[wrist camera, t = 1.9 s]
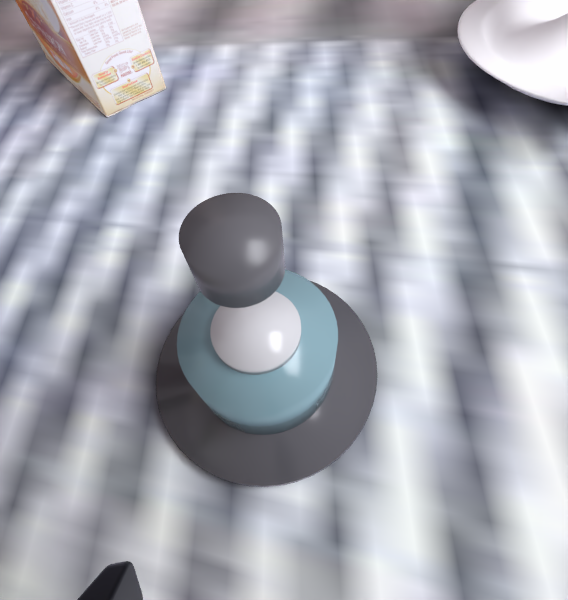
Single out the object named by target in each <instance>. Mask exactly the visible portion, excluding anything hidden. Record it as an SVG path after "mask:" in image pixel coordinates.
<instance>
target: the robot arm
mask: <svg viewBox="0 0 568 600" xmlns="http://www.w3.org/2000/svg"><path fill="white" fill-rule="evenodd" d="M77 600H143V597H142V592H141V588H140V585H139V582H138V579H137V575H136V572H135V569H134V566H133V564H132V563H131V562H128V561H126V562H120V563H115V564H111V565H108V566H107V567H106V568H105V569H104V570H103V571H102V572H101V573H100V574H99V576H98V577H97V578H96V579H95V580H94V581H93V582H92V583H91V585H90V586H89V587H88V588H87V589H86V590H85V591H84V593H83V594H82V595H81V596H80V597H79V598H78V599H77Z"/></svg>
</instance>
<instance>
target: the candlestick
mask: <svg viewBox="0 0 568 600" xmlns="http://www.w3.org/2000/svg"><path fill="white" fill-rule="evenodd" d="M457 32H458V39H459V42H460V44H461V46H462V48H463V50H464V51H465V53H466V54H467V55H468V57H469V58H470V59H471V60H472V61H473V62H474V63H475V64H476V65H477V66H479V67H480V68H481V69H482V70H484V71H485V72H486V73H488V74H489V75H491V76H493V77H494V78H496V79H498V80H499V81H501V82H503V83H505V84H506V85H507V86H509V87H511V88H512V89H514V90H517V91H519V92H521V93H523V94H526V95H528V96H530V97H533V98H536V99H540V100H543V101H547V102H550V103H554V104H560V105H566V106H568V0H476V1H475V2H473V3H472V4H471V5H470V6H468V7H467V8H466V10H465V11H464V12H463V14H462V15H461V17H460V19H459V23H458V29H457Z"/></svg>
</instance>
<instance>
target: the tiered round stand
mask: <svg viewBox="0 0 568 600" xmlns="http://www.w3.org/2000/svg"><path fill="white" fill-rule="evenodd" d="M376 385H377V365H376V358H375V353H374V348H373V345H372V343H371V340H370V337H369V335H368V333H367V331H366V329H365V327H364V325H363V323H362V322H361V320H360V319H359V317H358V316H357V315H356V313H355V312H354V311H353V310H352V309H351V308H350V307H349V305H348V304H347V303H345V302H344V301H343V300H342V299H341V298H340V297H338V296H337V295H336V294H334V293H333V292H331V291H330V290H328V289H327V288H325V287H323V286H321V285H319V284H317V283H314V282H312V281H309V280H307V279H306V278H304V277H302V276H300V275H298V274H296V273H294V272H291V271H288V270H285V274H284V278H283V280H282V282H281V284H280V286H279V287H278V289H277V290H276V291H275V292H274V293H273V294H272V295H271V296H270V297H268V298H267V299H266V300H264V301H262V302H260V303H258V304H256V305H253V306H249V307H244V308H229V307H224V306H220V305H217V304H215V303H213V302H212V301H210V300H209V299H207V298H206V297H205V296H204V295H203V294H202V292H201V291H200V292H199V293H198V294H197V296H196V297H195V298H194V299H193V300H192V302H191V303H190V305H189V306H188V307H187V309H186V311H185V313H184V314H183V315H182V316H181V317H180V318H179V320H178V321H177V323H176V324H175V326H174V327H173V328H172V330H171V332H170V334H169V336H168V338H167V339H166V341H165V344H164V346H163V349H162V352H161V355H160V359H159V363H158V367H157V377H156V392H157V400H158V406H159V410H160V413H161V416H162V419H163V422H164V424H165V426H166V428H167V430H168V432H169V434H170V436H171V438H172V439H173V440H174V442H175V443H176V445H177V446H178V447H179V449H180V450H181V451H182V452H183V453H184V454H185V455H186V456H187V457H188V458H189V459H190V460H192V461H193V462H194V463H196V464H197V465H198V466H199V467H201V468H202V469H204V470H206V471H207V472H209V473H211V474H213V475H215V476H217V477H219V478H221V479H224V480H227V481H229V482H232V483H236V484H241V485H246V486H257V487H270V486H281V485H285V484H290V483H294V482H298V481H300V480H303V479H305V478H308V477H310V476H313V475H314V474H316V473H318V472H320V471H322V470H323V469H325V468H327V467H328V466H329V465H331V464H332V463H333V462H335V461H336V460H337V459H338V458H340V457H341V455H342V454H343V453H344V452H345V451H346V450H347V449H348V448H349V447H350V446H351V445H352V443H353V442H354V441H355V439H356V438H357V437H358V435H359V434H360V432H361V430H362V428H363V426H364V425H365V423H366V421H367V419H368V416H369V414H370V411H371V408H372V406H373V402H374V397H375V393H376Z"/></svg>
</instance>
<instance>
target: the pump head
mask: <svg viewBox="0 0 568 600" xmlns="http://www.w3.org/2000/svg"><path fill="white" fill-rule="evenodd" d="M179 244H180V248H181V250H182V252H183V254H184V257H185V259H186V261H187V263H188V265H189V268H190V270H191V272H192V274H193V277H194V279H195V281H196V283H197V285H198V288H199V290H200V291H201V292H202V294H203V295H204V296H205V297H206V298H207V299H209V300H210V301H212V302H213V303H215V304H217V305H220V306H224V307H229V308H244V307H249V306H253V305H256V304H258V303H260V302H262V301H264V300H266V299H267V298H268V297H270V296H271V295H272V294H273V293H274V292H275V291H276V290H277V289H278V287H279V286H280V284H281V282H282V280H283V278H284V274H285V259H284V248H283V237H282V226H281V220H280V217H279V215H278V213H277V212H276V210H275V209H274V208H273V207H272V206H271V205H270V204H269V203H268V202H266V201H265V200H263V199H261V198H259V197H257V196H254V195H250V194H245V193H228V194H222V195H218V196H215V197H212V198H209V199H207V200H205V201H203V202H202V203H200V204H199V205H197V206H196V207H195V208H194V209H192V210H191V211H190V212H189V214H188V215H187V216H186V217H185V219H184V221H183V223H182V225H181V227H180V231H179Z"/></svg>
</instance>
